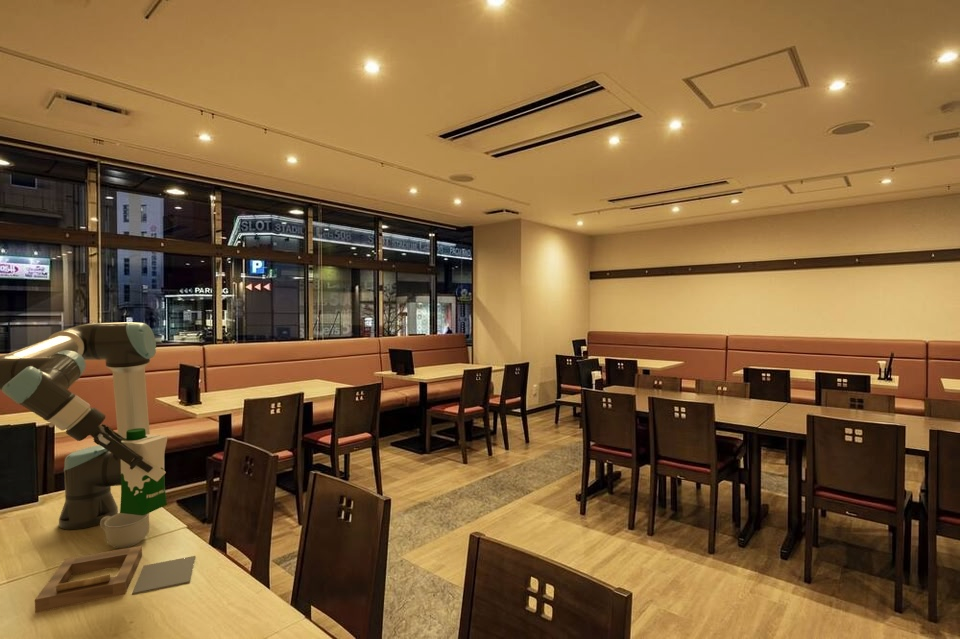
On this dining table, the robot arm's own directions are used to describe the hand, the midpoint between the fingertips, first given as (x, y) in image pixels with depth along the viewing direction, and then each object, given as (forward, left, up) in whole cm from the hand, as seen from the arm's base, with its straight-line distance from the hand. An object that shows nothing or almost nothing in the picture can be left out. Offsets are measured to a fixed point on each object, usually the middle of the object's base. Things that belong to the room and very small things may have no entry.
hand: (158, 471), depth 128 cm
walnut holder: (-3, -15, -27) cm, 31 cm away
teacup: (-25, -13, -27) cm, 39 cm away
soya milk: (+1, -3, -9) cm, 10 cm away
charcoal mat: (+1, +1, -27) cm, 27 cm away
